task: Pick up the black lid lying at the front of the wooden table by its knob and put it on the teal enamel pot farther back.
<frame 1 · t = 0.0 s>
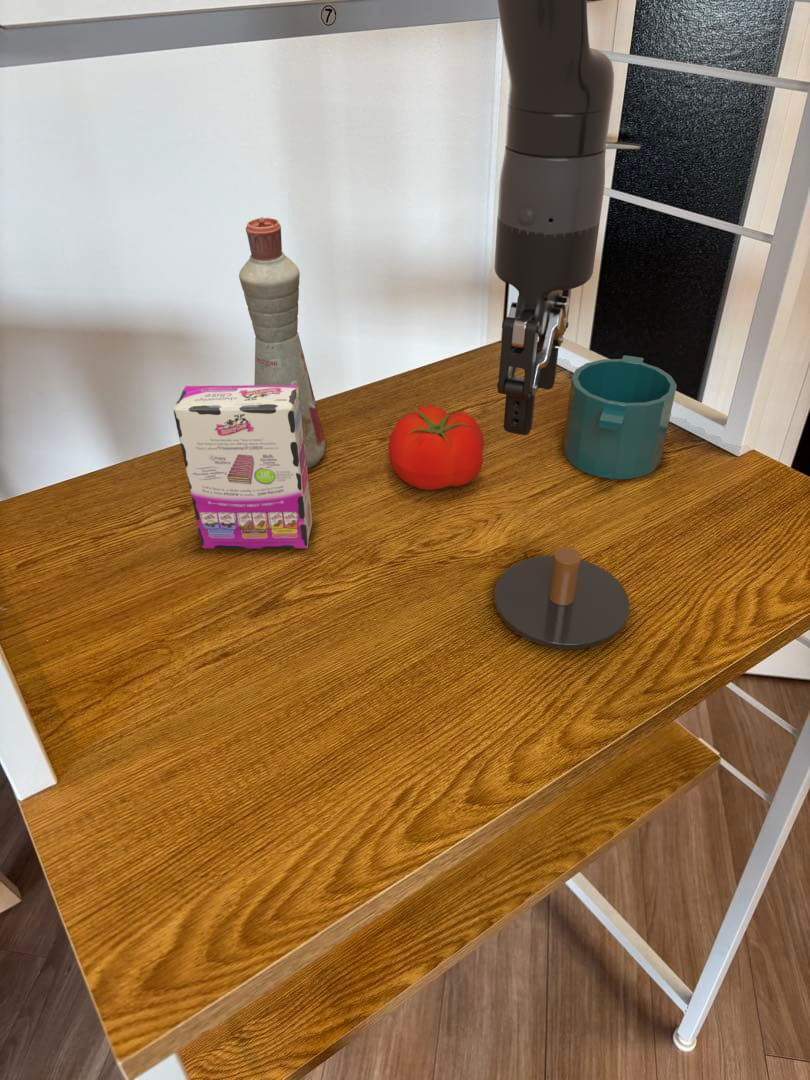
hand: (529, 408, 71), 18 cm above the table, tool pointing down, fingers open, 8 cm apart
lid: (560, 601, 77), point 1 cm above the table
candy bar box: (258, 537, 87), on the table
bottle: (289, 458, 99), on the table
tomato: (436, 478, 96), on the table
pot: (611, 453, 99), on the table
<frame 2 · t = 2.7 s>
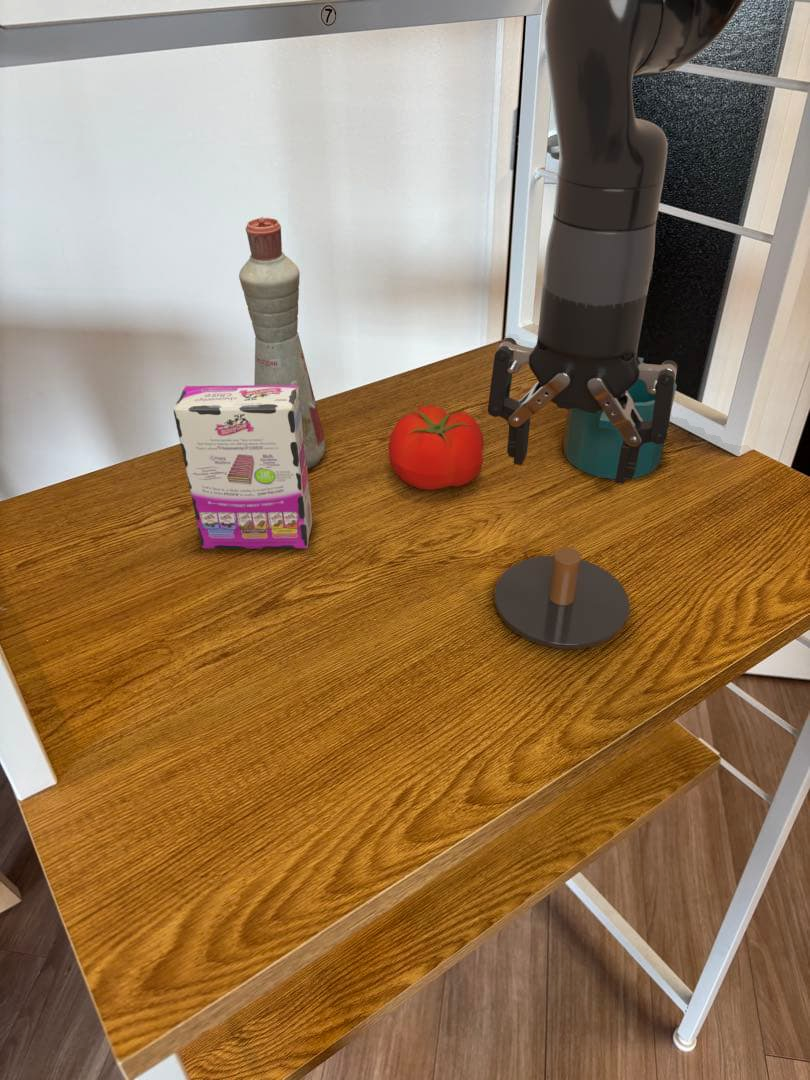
hand: (569, 469, 70), 15 cm above the table, tool pointing down, fingers open, 8 cm apart
nothing on the table moved.
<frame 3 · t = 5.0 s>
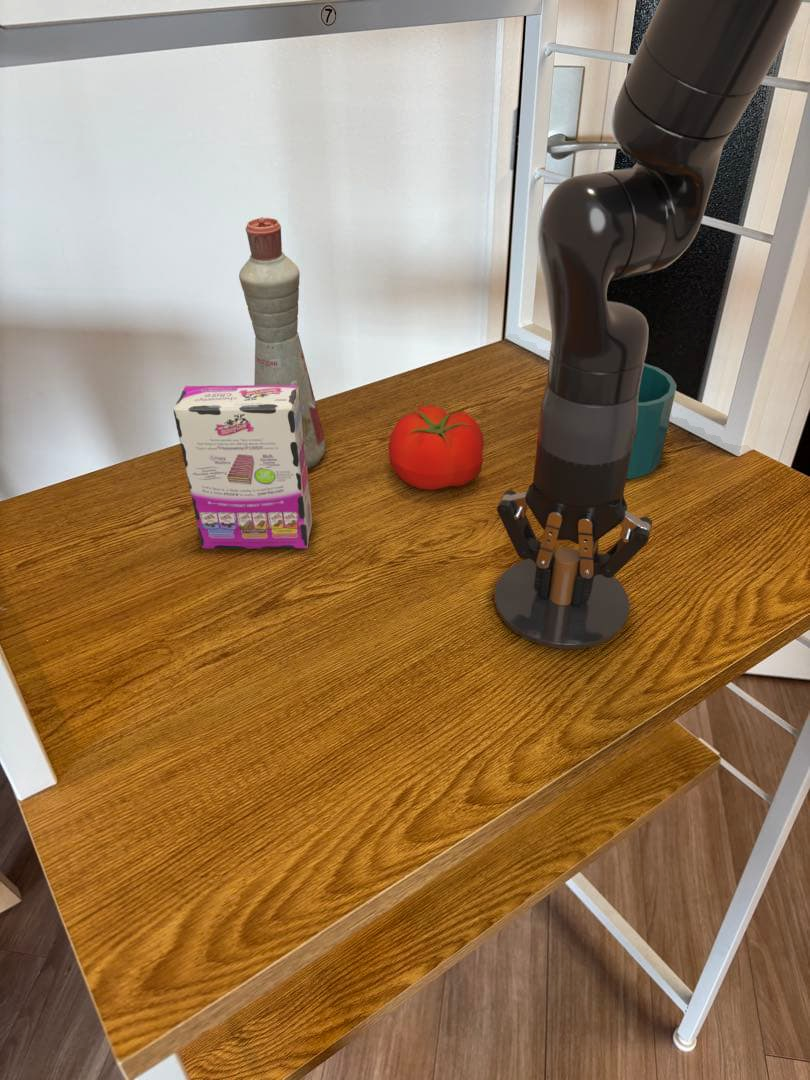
hand: (561, 596, 77), 1 cm above the table, tool pointing down, fingers closed on lid, 2 cm apart
lid: (560, 601, 77), point 1 cm above the table, touching gripper
everything else where it was.
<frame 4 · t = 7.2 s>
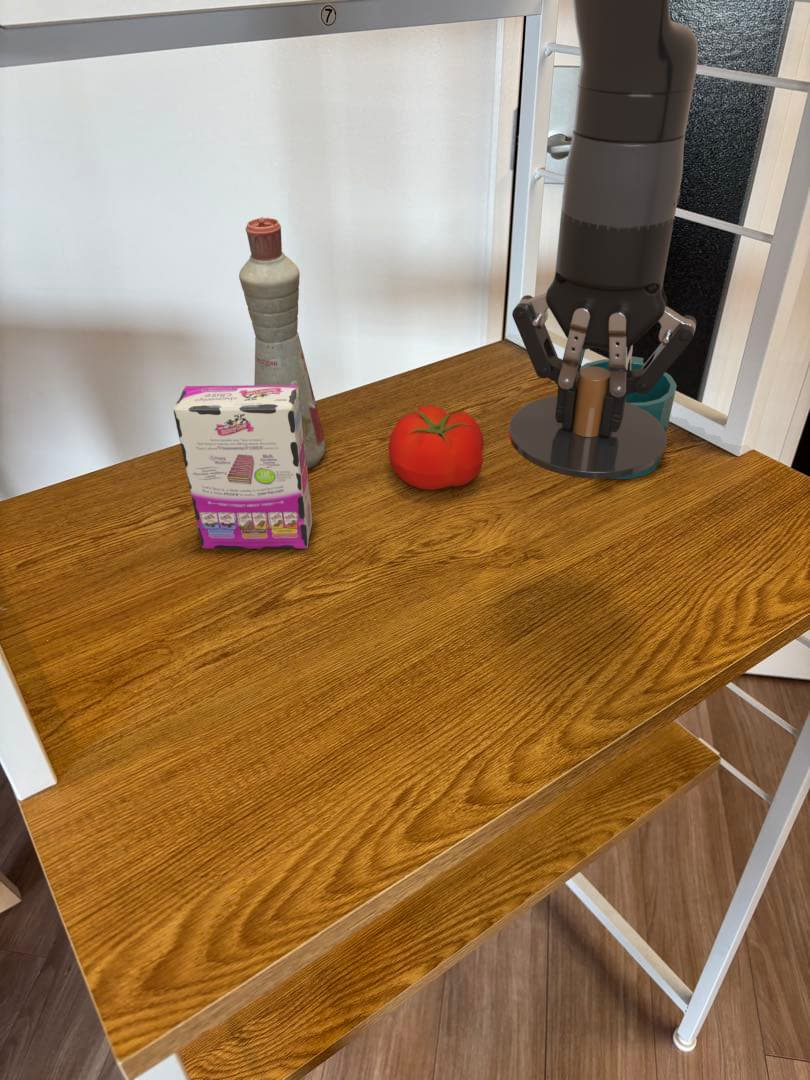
hand: (587, 428, 66), 19 cm above the table, tool pointing down, fingers closed on lid, 2 cm apart
lid: (586, 436, 67), point 18 cm above the table, touching gripper
everything else where it was.
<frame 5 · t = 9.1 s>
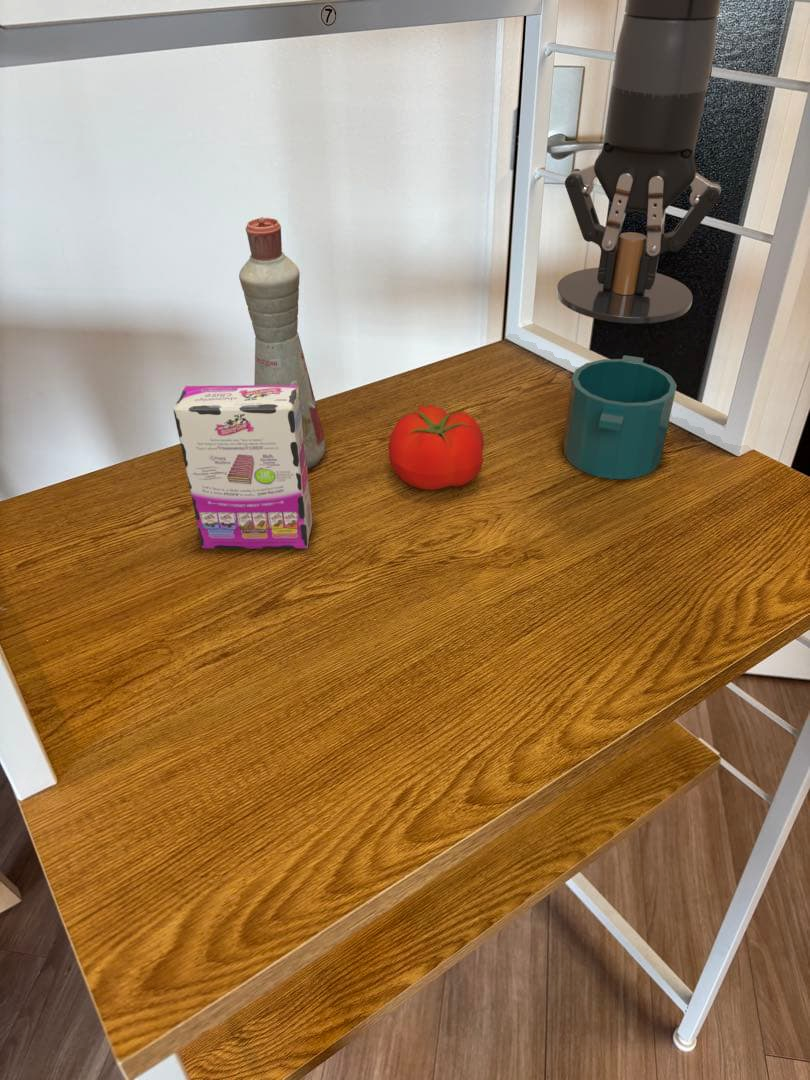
hand: (624, 289, 77), 24 cm above the table, tool pointing down, fingers closed on lid, 2 cm apart
lid: (622, 296, 78), point 23 cm above the table, touching gripper
everything else where it was.
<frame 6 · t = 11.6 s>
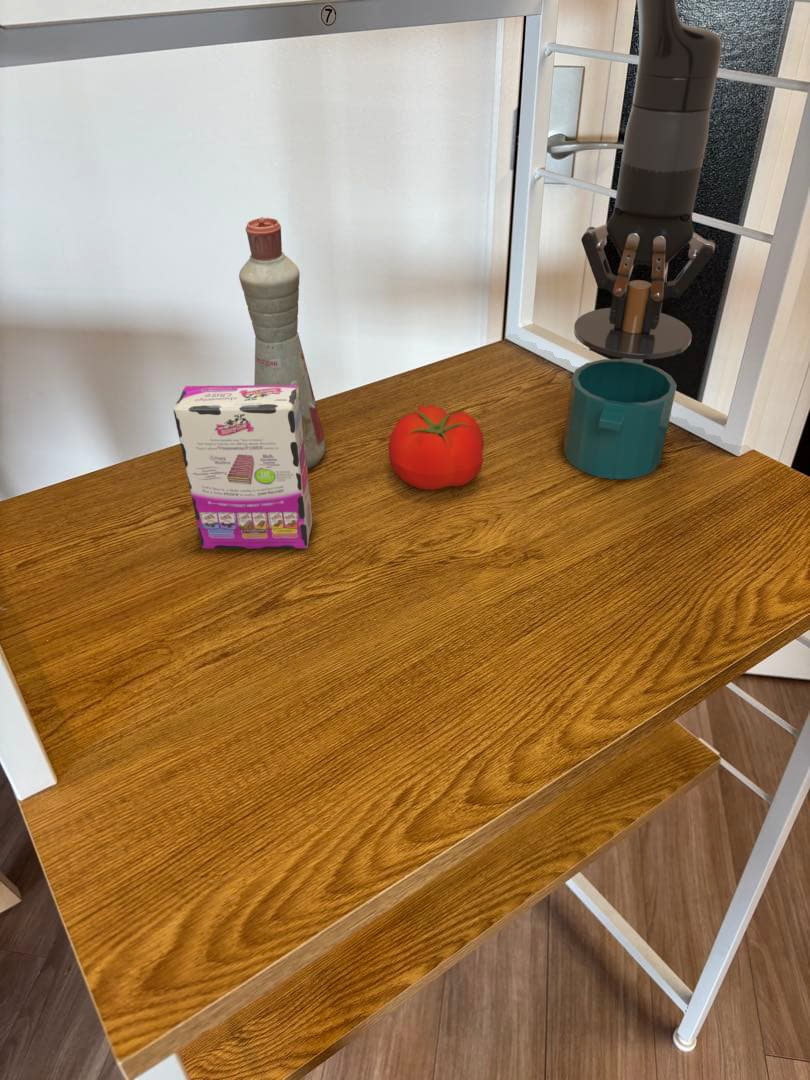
hand: (632, 328, 90), 16 cm above the table, tool pointing down, fingers closed on lid, 2 cm apart
lid: (631, 334, 90), point 15 cm above the table, touching gripper
everything else where it was.
when the fingers open (10 cm above the table, at t = 13.3 s): lid stays where it is, resting on pot.
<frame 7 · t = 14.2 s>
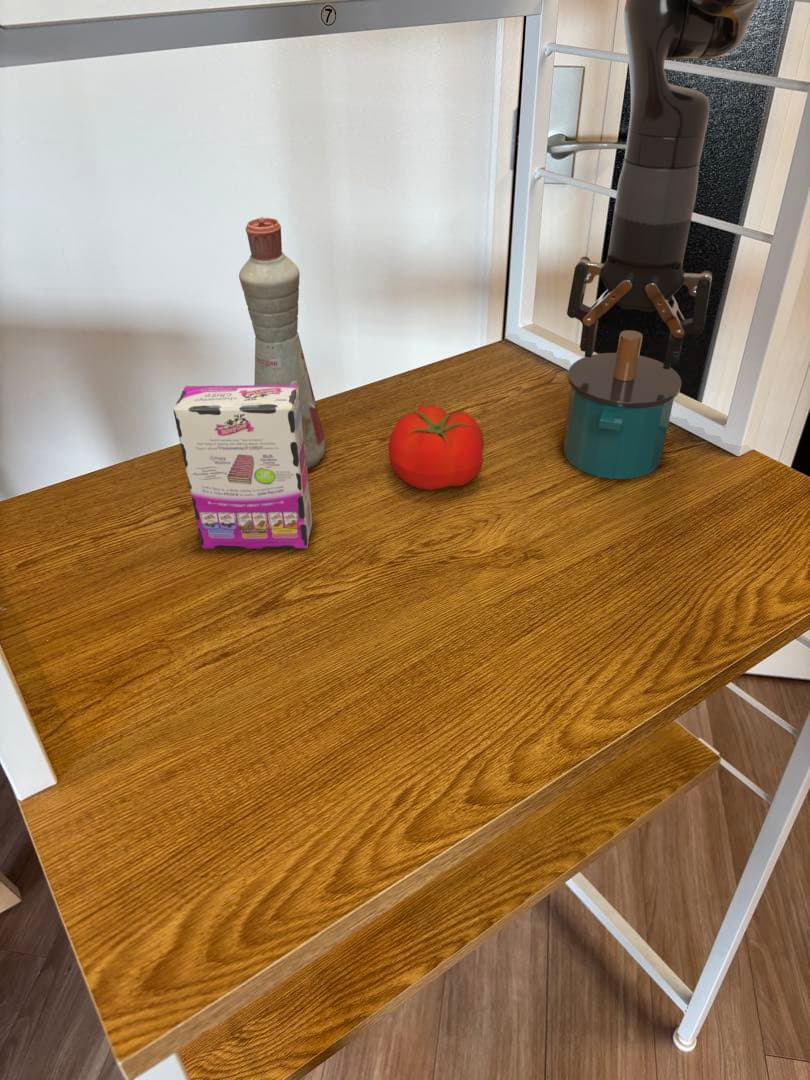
hand: (627, 360, 92), 12 cm above the table, tool pointing down, fingers open, 8 cm apart
lid: (623, 381, 93), point 9 cm above the table, touching pot
everything else where it was.
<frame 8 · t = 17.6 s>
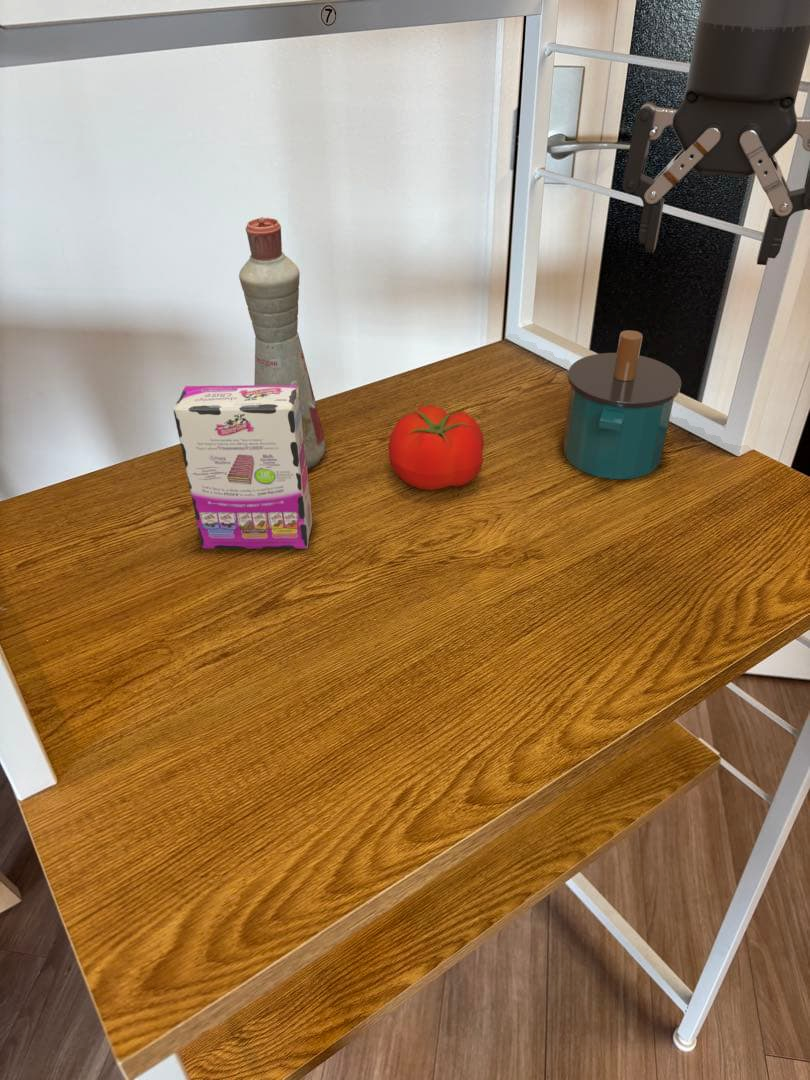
hand: (705, 255, 66), 30 cm above the table, tool pointing down, fingers open, 8 cm apart
nothing on the table moved.
at the end: lid 0.1 cm off-centre on the pot, point 9.5 cm above the pot's base; lid tilted 0°; the gripper is holding nothing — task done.
